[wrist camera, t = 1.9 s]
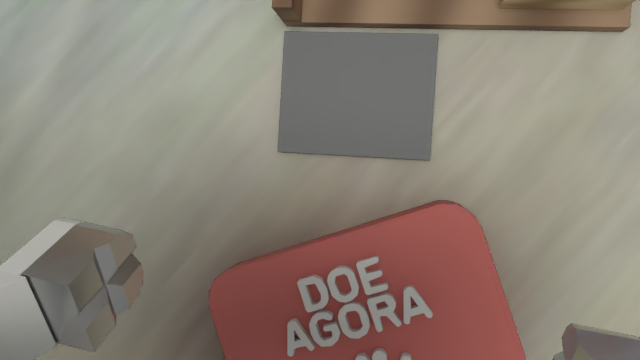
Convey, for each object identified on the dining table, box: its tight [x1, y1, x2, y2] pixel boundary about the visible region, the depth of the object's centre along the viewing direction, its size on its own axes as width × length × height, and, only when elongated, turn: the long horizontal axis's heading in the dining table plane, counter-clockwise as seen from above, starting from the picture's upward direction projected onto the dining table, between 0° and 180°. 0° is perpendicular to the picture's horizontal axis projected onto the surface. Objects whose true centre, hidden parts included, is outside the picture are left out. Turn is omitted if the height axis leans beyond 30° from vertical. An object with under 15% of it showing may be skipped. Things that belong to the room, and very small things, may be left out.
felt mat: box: [278, 31, 438, 160], centre depth 33 cm, size 10×8×1 cm
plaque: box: [209, 200, 526, 360], centre depth 32 cm, size 18×4×15 cm
